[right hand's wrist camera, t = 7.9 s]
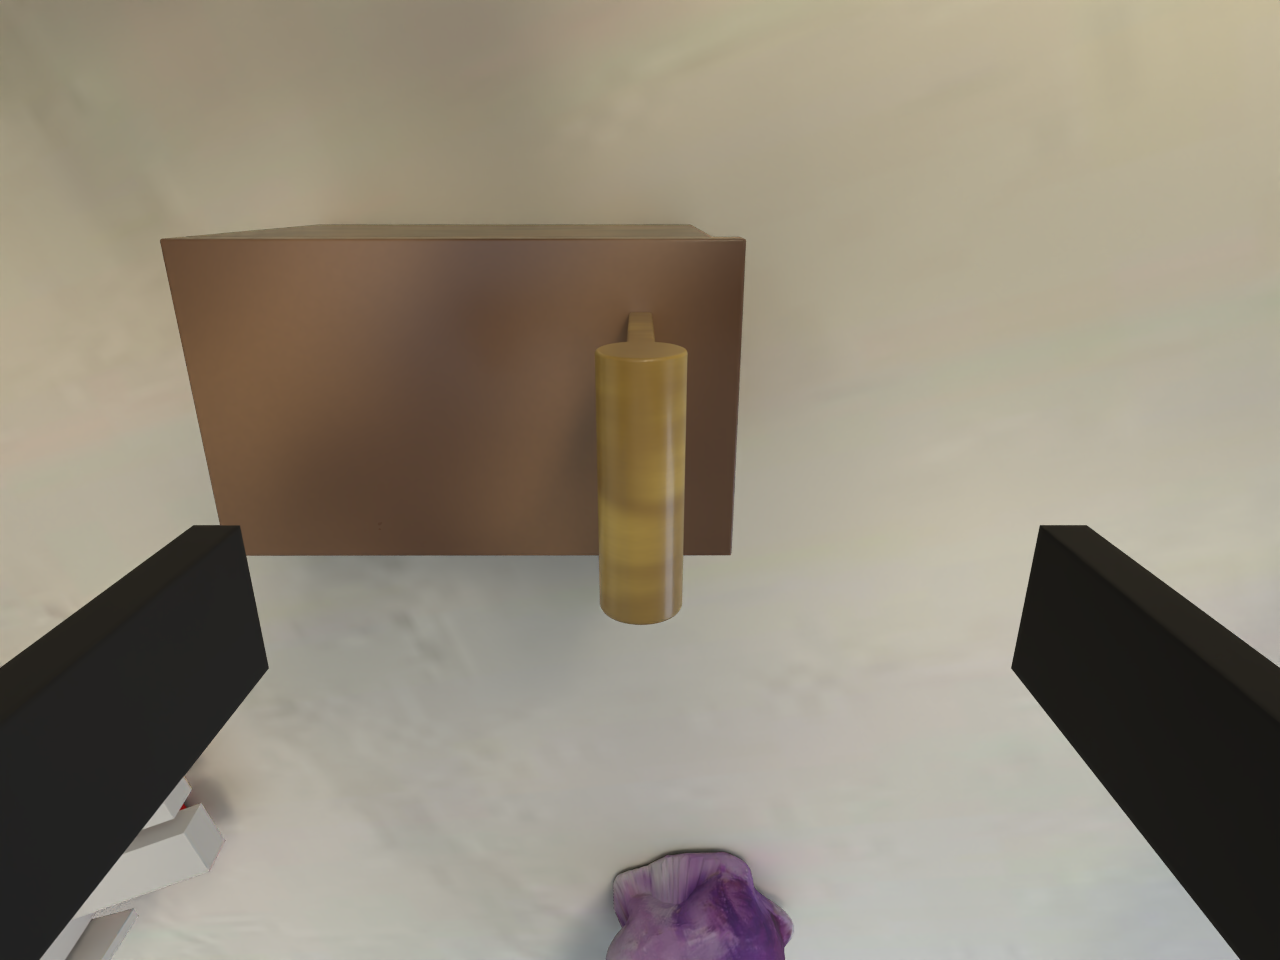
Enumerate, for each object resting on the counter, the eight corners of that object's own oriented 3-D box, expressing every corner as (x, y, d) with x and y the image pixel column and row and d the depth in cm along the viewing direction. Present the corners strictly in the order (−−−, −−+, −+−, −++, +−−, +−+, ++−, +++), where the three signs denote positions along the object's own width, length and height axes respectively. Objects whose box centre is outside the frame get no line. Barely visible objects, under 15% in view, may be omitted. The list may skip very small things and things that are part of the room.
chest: (691, 224, 33) (713, 236, 23) (686, 448, 37) (704, 540, 27) (318, 224, 33) (182, 236, 23) (349, 448, 37) (243, 540, 27)
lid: (741, 236, 23) (797, 259, 15) (727, 541, 27) (767, 696, 18) (181, 236, 23) (-74, 259, 15) (242, 541, 27) (65, 696, 18)
